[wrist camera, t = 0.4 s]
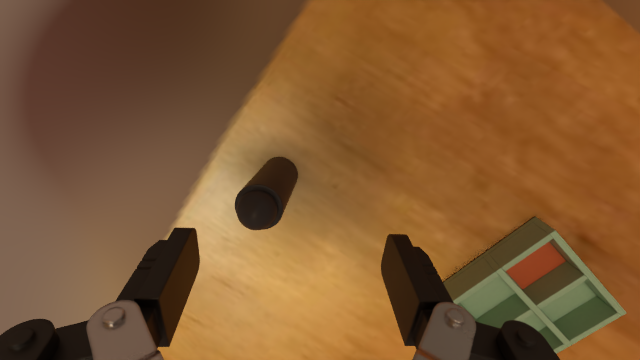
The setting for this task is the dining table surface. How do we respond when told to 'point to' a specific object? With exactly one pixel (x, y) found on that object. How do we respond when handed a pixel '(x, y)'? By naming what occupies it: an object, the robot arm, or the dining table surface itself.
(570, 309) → the grid
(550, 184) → the dining table surface
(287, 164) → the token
